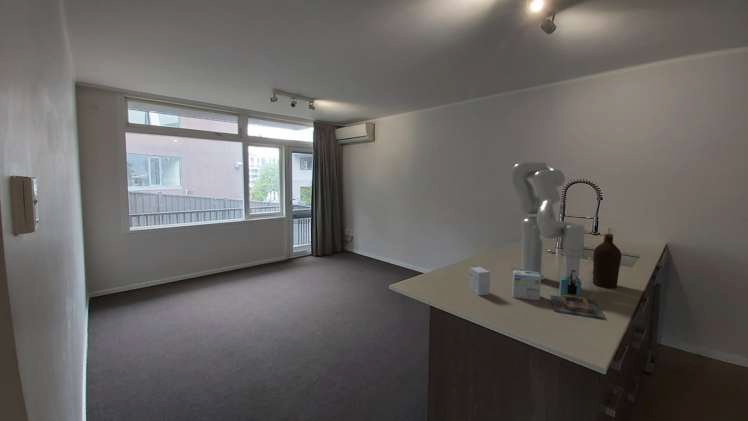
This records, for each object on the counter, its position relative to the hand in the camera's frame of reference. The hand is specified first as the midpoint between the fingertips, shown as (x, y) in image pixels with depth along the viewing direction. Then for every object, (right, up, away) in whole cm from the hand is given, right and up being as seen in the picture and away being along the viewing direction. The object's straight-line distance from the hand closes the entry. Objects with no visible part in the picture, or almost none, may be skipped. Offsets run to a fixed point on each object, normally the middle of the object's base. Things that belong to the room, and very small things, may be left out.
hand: (570, 290), depth 139 cm
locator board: (-6, -3, -13) cm, 15 cm away
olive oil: (+24, -1, +11) cm, 26 cm away
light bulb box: (-21, -2, -2) cm, 21 cm away
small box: (-40, -2, +3) cm, 40 cm away
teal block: (0, -2, 0) cm, 2 cm away
